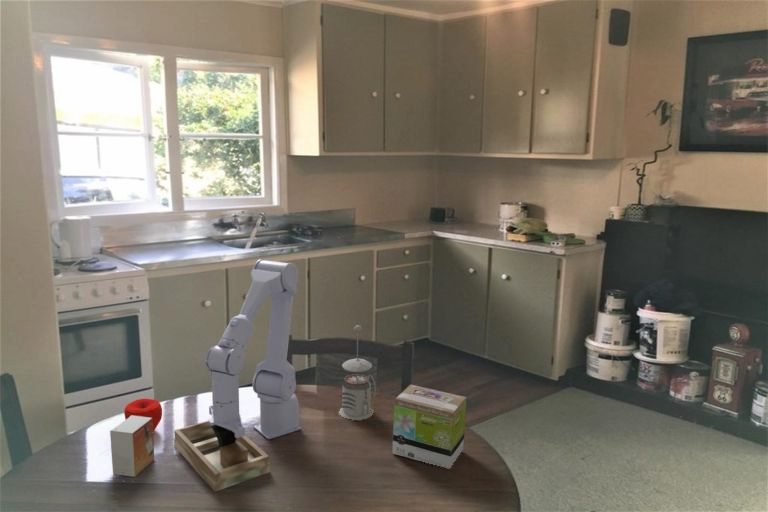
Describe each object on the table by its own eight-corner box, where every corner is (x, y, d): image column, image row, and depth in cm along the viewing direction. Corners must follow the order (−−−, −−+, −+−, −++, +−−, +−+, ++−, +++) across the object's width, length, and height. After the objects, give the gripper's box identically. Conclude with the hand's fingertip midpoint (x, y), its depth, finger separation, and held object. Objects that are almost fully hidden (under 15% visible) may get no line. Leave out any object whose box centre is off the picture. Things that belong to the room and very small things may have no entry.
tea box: (391, 455, 145) (392, 397, 142) (407, 437, 154) (409, 382, 151) (450, 471, 139) (453, 411, 136) (464, 451, 148) (467, 395, 145)
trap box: (224, 430, 155) (224, 416, 154) (270, 472, 137) (269, 455, 136) (174, 445, 147) (173, 430, 146) (215, 491, 129) (214, 474, 128)
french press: (358, 401, 174) (360, 317, 169) (386, 415, 166) (388, 327, 161) (331, 411, 167) (332, 324, 162) (358, 426, 159) (360, 335, 154)
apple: (170, 429, 155) (169, 400, 153) (142, 444, 147) (141, 414, 146) (145, 421, 159) (144, 393, 157) (117, 435, 151) (115, 405, 150)
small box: (134, 478, 133) (132, 433, 131) (112, 474, 134) (109, 430, 132) (155, 459, 141) (153, 417, 139) (133, 456, 142) (131, 414, 140)
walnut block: (239, 457, 139) (238, 441, 138) (248, 466, 135) (247, 449, 134) (220, 463, 136) (219, 447, 135) (229, 472, 132) (228, 455, 132)
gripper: (195, 391, 139) (197, 446, 141) (222, 415, 128) (224, 473, 130) (224, 384, 143) (226, 437, 146) (253, 406, 132) (254, 463, 135)
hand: (227, 454), depth 138 cm, fingers closed
